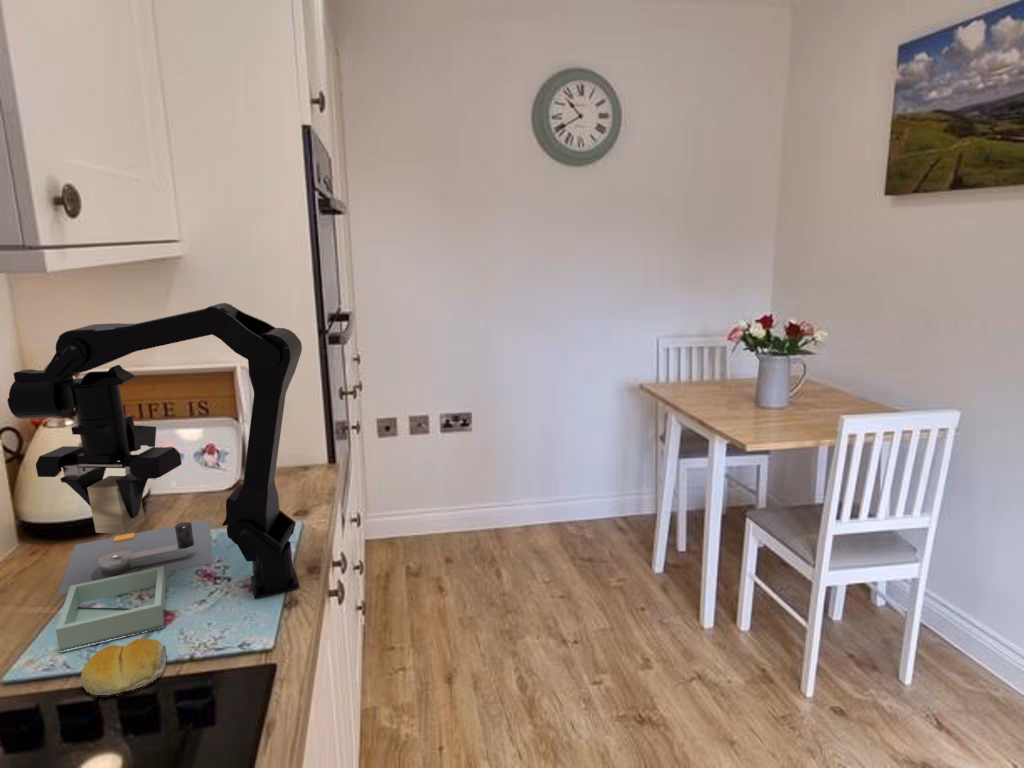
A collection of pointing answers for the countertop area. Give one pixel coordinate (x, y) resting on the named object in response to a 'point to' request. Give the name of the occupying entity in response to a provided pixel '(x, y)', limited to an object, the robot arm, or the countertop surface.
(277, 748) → the countertop surface
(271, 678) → the countertop surface
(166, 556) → the crank
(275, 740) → the countertop surface
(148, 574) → the tray
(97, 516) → the block
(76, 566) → the crank base
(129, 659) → the bread roll
